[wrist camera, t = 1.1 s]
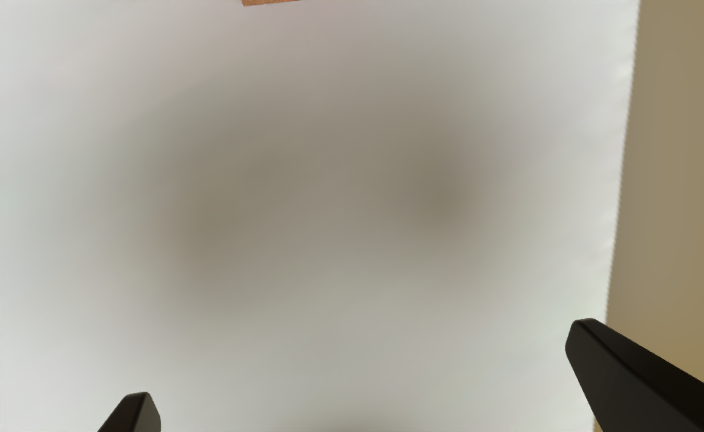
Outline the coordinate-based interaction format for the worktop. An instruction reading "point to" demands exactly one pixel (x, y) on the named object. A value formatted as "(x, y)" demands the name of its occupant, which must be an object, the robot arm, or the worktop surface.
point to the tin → (262, 2)
